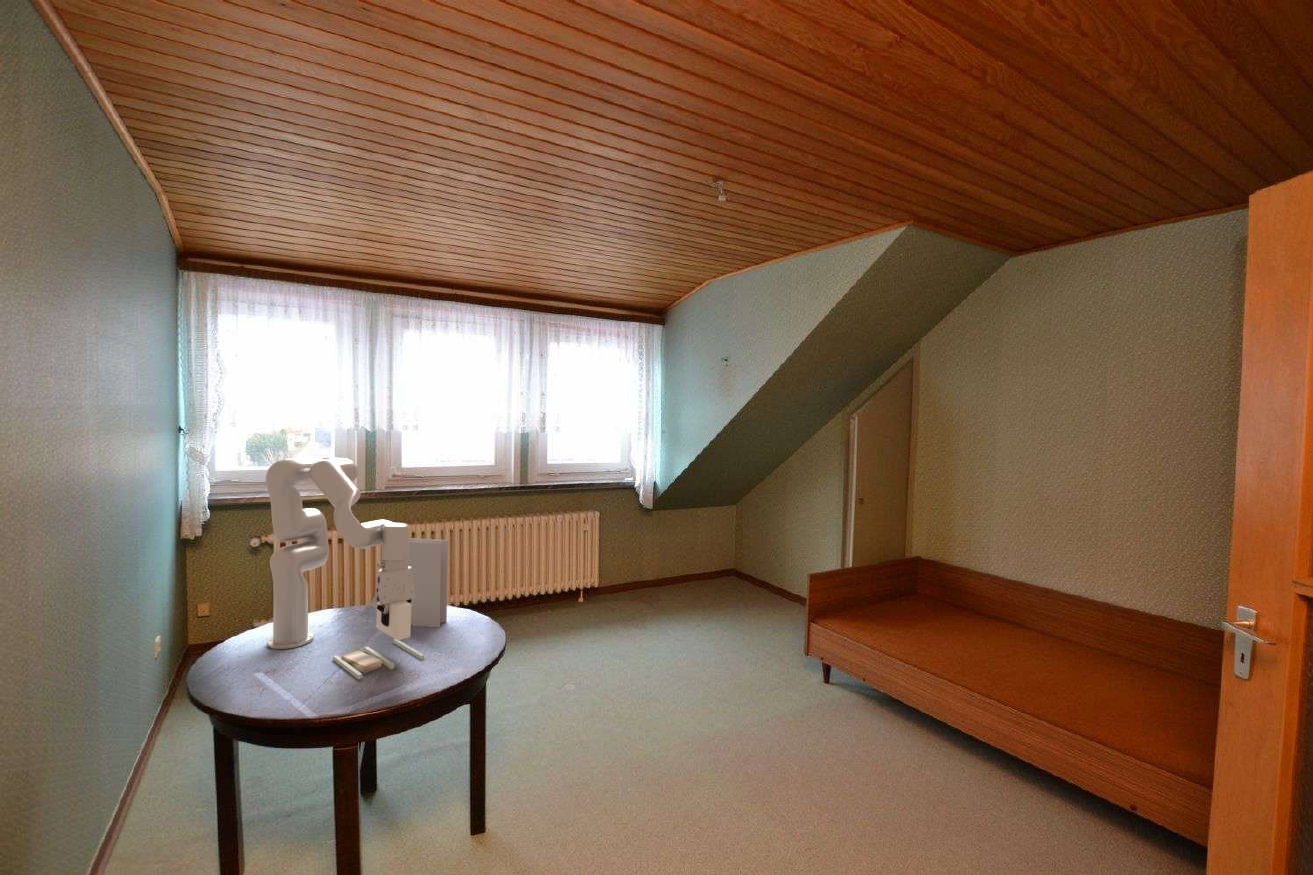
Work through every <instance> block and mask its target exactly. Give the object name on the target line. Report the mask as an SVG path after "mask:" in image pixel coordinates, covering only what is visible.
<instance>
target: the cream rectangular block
mask: <svg viewBox="0 0 1313 875" xmlns="http://www.w3.org/2000/svg"><path fill="white" fill-rule="evenodd" d="M377 604H379V605H381V603H380V602H377ZM388 613H389V626H387V627H386V626H385V625H383V624H382V623H381V612H380V611H379V610H378V609H376V624H375V627H376V629H378V630H380V631H381V632H383V633H385V634H386V635H387V636H389V637H390V638H392V639H393V640H394V639H395V640H400V641H401V640H403V639H407V638H411V628H412V626H411V604H410V603H408V602H406V601H400V602H396V603H391V604H389V608H388Z"/></svg>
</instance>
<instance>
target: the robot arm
mask: <svg viewBox="0 0 1313 875" xmlns="http://www.w3.org/2000/svg"><path fill="white" fill-rule="evenodd" d="M358 474H359V470H358V467H357V464H356V463H355V462H354V461H353V460H352V459H349V458H347V457H331V456H330V457H329V456H308V457H292V458H285V459H281V460H277V461H276V462H274V463H273V464H271V465H270V467H269V468H268V469H267V472H266V476H265V485H266V488H267V492H268V496H269V499H270V509H271V510H270V512H271V520H272V522H271V523H272V531H273V532H272V533H273V536H274V538H275V539H276V540H277V541H279V542H290V541H298V540H301V539H302V542H298V543H294V544H290V545H289V544H288V545H285V546H282V547H280V548H278V549H277V550H275V551H274V552H273V553H272V554H271V556H270V559H269V566H270V571H271V575H272V586H273V589H272V591H273V602H272V604H273V606H272V607H273V608H272V609H273V610H272V611H273V612H272V613H273V614H272V616H273V617H272V618H273V620H272V621H273V626H272V629H273V630H272V632H273V634H272V635H273V636H272V637H270V638H269V639H268V640H267V643H266V644H267V647H268V648H269V647H270V648H269V649H273V650H287V649H292V648H293V649H294V648H299V647H301V646H305V645H307V644H309V643H310V642H312V641H313V640H314V633H312V632H310V631H309V584H308V581H307V580H306V578H305V577H304V575H303V573H305V572H307V571H311V570H314V569H318V568H320V567H322V566H324V565H325V563H327V561H328V559H329V555H330V551H329V550H330V548H329V537H328V525H327V520H326V517H325V515H324V513H323V512H322V511H320V510H319V509H317V508H314V507H313V508H312V507H311V508H310V507H309V508H303V498H302V496H301V493H300V492H299V490H298V489H297V487H295V486H296V485H301V484H305V485H306V484H312V483H314V485H316V486H317V488H318V489H319V490H320V491H321V493H322V494H323V495H324V496H325V497H326V499H327V500H328V501H329V503H330V504H331V505H332V507H333V508H334V510H333V511H334V512H333V522H334V526H335V529H336V531H337V532H338V533H339V536H341V537H342V539H343V540H344V541H345V542H346V543H347V544H348V545H349V546H350V547H351V548H353V549H357V550H364V549H368V548H371V547H375V546H379V545H381V559H380V562H378V563H377V564H376V567H377V568H380V569H379V571H378V573H377V577H376V583H375V594H374V597H373V598H372V600H371V601H370V602H369V606H370V607H372V608H375V609H376V610H377V609H378V610H379V611H380V612H381V623H382V624H383V625H385V626H386V627H387V626H389V613H388V608H389V604H391V603H396V602H400V601H406V602H408V603H411V601H412V600H414V599H415V598H416V597H417V595H416V593H415V592H414V585H413V574H412V569H411V567H410V566H408V564H409V541H410V526H409V524H407V523H405V522H404V523H403V522H394V521H391V520H387V519H377V520H371V521H367V522H360V521H359V519H358V518H356V517H355V515H354V514H353V512H352V508H351V507H352V506H354V505H355V504H356V503H357V502H358V501H359V500H360V498H361V496H362V494H361V491H360V490H361V489H359V488H358V487H357V486H356V484H355V483H354V482H355V480H356V479H357V478H358ZM377 602H380V603H381V605H379V604H377Z"/></svg>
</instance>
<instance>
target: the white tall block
mask: <svg viewBox="0 0 1313 875" xmlns="http://www.w3.org/2000/svg"><path fill="white" fill-rule="evenodd" d="M448 558H449V540H448V539H431V538H416V537H415V538H411V537H410V538H409V564H408V566H410V567H411V569H412V574H413V585H414V592H415V593H416V595H417V597H416V598H415V599H414V600H412V601H411V603H410V604H411V625H413V626H412V627H423V626H428V627H427V628H438V627H439V628H440V627H441V625H440V624H442V622H445V623H447V622H448V621H447V620H448V619H447V617H448V614H447V612H448V571H449V570H448V569H449V568H448V566H449V562H448V561H449V560H448Z"/></svg>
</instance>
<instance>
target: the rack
mask: <svg viewBox="0 0 1313 875" xmlns="http://www.w3.org/2000/svg"><path fill="white" fill-rule="evenodd" d="M393 644H394V645H396V646H398V647H399V648H400V649H402V650H404V651H406V652H407V653H409V654H411V655H412V656H414V657H416V658H417V659H419V660H422V661H423V660H425V654H423V653H422V652H420V651H419V650H416V648H413V647H412V646H410V645H409V644H407V643H404V642H403V641H401V640H395V639H394V638H393ZM364 653H366V654H368V655H370V656H373V657H375V658H377V659H380V660H382V665H384V666H386V667H387V668H388V669H389V670H393V669H395V663H394V662H392V661H390V660H389V659H388V658H386V657H384V656H383V655H382V654H380V653H378V652H377V651H375V650H374V649H372V648H371V647H369V646H365V647H364ZM332 656H333V657H332V661H334V662H335V663H336V664H337V665H339V666H340V667H341V668H342V669H344V670H346V671H347V672H348V673H350V675H352V676H353V677H354V678H355V679H357V680H361V679H363V674H362V672H361V671H359V670H357V669H355V668H353V667H352V666H351V665H349V664H348V663H347V662H345V661H344V660H343V659H342V657H340V656H339V655H338V654H337V655H332Z"/></svg>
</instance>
